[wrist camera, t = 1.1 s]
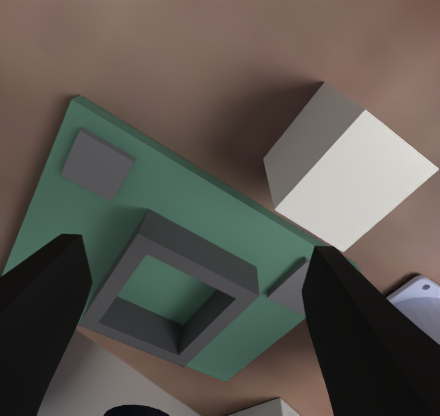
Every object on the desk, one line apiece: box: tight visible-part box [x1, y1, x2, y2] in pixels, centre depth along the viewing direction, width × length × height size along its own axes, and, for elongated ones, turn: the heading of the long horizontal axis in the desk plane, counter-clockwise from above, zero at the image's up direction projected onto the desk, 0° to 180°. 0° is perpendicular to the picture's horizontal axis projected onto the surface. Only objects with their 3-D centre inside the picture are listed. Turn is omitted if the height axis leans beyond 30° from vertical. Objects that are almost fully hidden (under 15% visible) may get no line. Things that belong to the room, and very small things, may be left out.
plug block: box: [263, 82, 439, 252], centre depth 15 cm, size 4×5×6 cm
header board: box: [2, 95, 360, 382], centre depth 21 cm, size 20×16×4 cm
